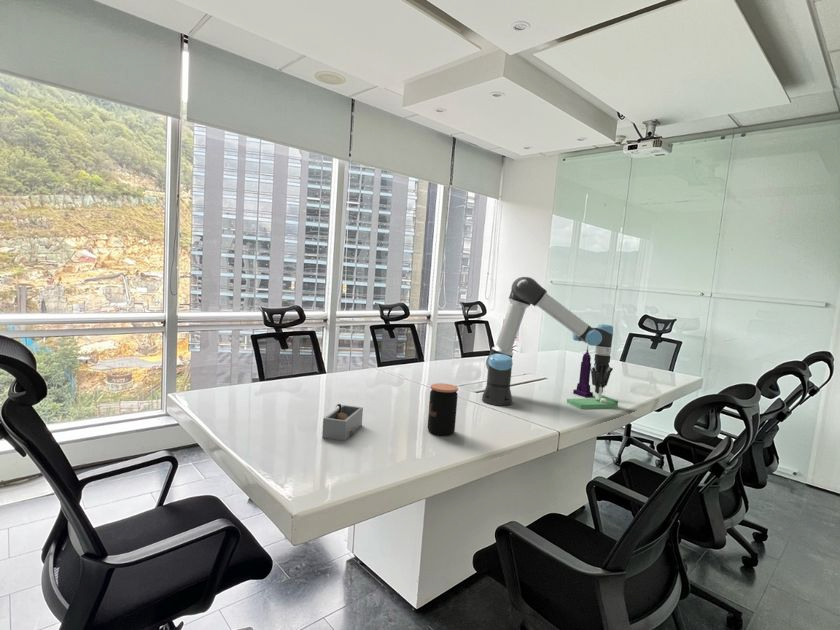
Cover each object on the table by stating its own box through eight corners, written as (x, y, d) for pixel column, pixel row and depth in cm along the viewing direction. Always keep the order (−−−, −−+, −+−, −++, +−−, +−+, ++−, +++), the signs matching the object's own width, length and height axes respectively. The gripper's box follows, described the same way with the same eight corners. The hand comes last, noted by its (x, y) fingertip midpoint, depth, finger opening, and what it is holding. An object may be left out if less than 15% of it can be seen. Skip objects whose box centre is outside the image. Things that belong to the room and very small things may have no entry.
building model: (572, 393, 257) (578, 341, 254) (580, 392, 260) (585, 341, 257) (585, 397, 249) (590, 344, 247) (592, 396, 252) (598, 343, 250)
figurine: (329, 423, 174) (330, 401, 173) (340, 422, 176) (341, 400, 175) (341, 435, 162) (343, 412, 161) (353, 434, 164) (355, 411, 163)
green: (580, 408, 224) (581, 401, 224) (566, 402, 235) (567, 396, 235) (617, 407, 232) (618, 401, 232) (602, 401, 242) (603, 395, 242)
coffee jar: (427, 426, 181) (430, 382, 179) (453, 428, 180) (457, 384, 179) (427, 435, 170) (430, 388, 169) (455, 437, 170) (458, 391, 168)
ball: (600, 405, 234) (601, 398, 234) (598, 403, 238) (599, 397, 237) (607, 406, 233) (608, 399, 233) (605, 404, 237) (606, 398, 237)
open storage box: (322, 437, 160) (323, 418, 160) (341, 422, 178) (342, 404, 178) (344, 440, 158) (346, 421, 158) (361, 424, 177) (362, 407, 176)
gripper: (597, 355, 227) (592, 401, 229) (618, 355, 231) (613, 400, 233) (587, 352, 234) (582, 397, 236) (607, 353, 238) (603, 396, 240)
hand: (598, 398), depth 234 cm, fingers closed
